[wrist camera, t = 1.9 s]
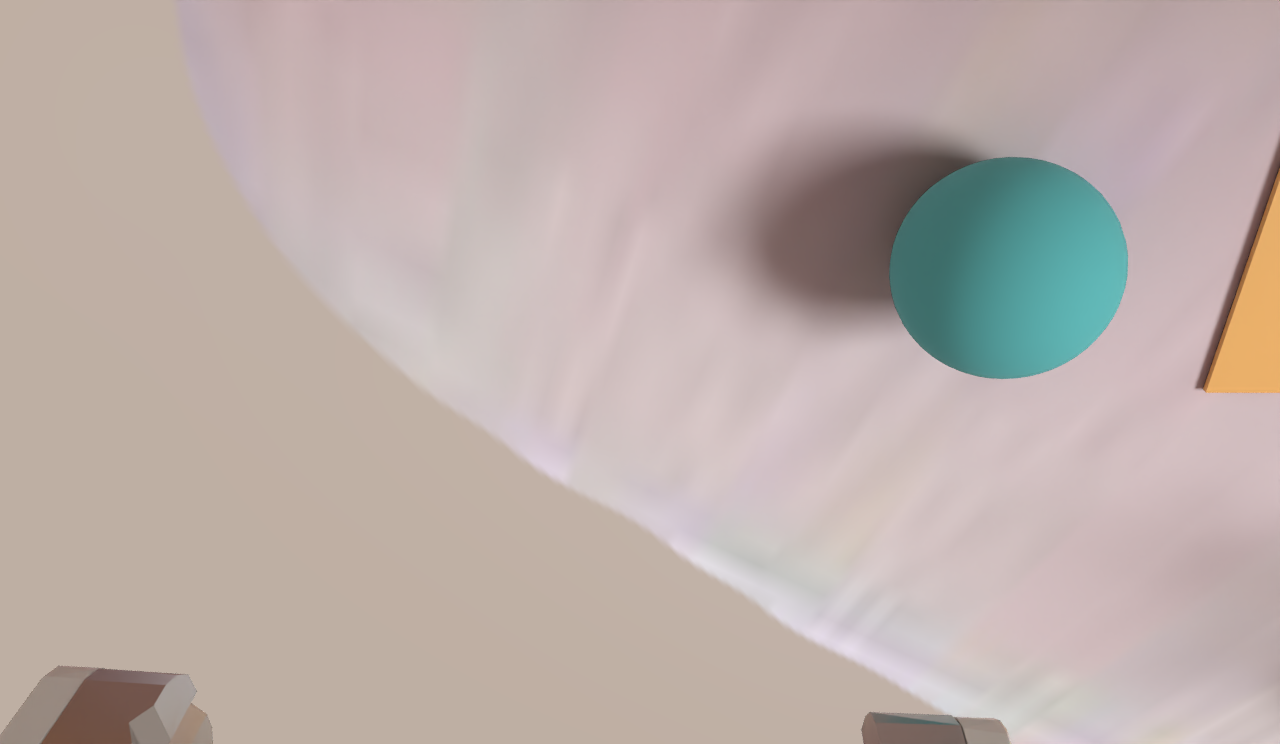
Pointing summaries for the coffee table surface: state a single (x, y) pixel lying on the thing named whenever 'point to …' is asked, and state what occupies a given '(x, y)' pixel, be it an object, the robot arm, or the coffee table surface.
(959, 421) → the coffee table surface
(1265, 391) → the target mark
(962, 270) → the ball
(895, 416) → the coffee table surface
